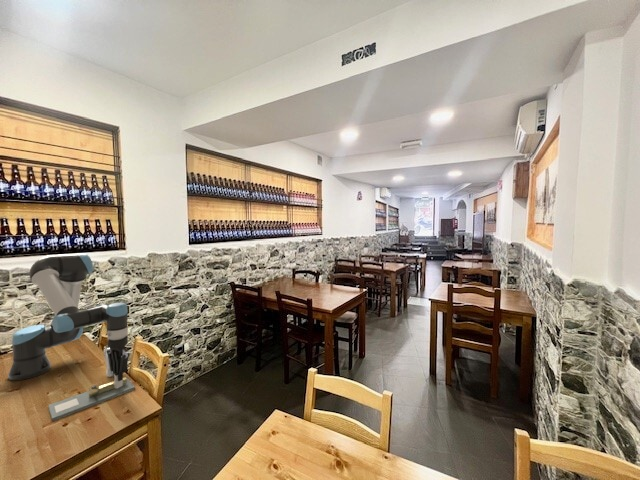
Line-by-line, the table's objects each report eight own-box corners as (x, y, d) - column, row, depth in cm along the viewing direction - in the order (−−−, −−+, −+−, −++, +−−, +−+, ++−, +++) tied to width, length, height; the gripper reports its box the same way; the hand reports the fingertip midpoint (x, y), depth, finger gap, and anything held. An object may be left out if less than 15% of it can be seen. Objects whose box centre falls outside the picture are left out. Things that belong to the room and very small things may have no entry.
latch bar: (88, 394, 121) (87, 386, 120) (124, 381, 131) (124, 374, 131) (89, 398, 118) (89, 390, 118) (127, 384, 129) (127, 377, 129)
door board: (48, 407, 114) (48, 404, 114) (127, 379, 135) (127, 377, 135) (52, 421, 106) (51, 418, 106) (134, 389, 128) (134, 386, 128)
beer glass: (112, 378, 137) (112, 349, 136) (101, 376, 138) (100, 347, 137) (125, 371, 144) (124, 343, 143) (114, 369, 145) (113, 342, 144)
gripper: (99, 337, 123) (100, 387, 124) (118, 342, 118) (119, 394, 120) (117, 331, 130) (118, 379, 131) (135, 336, 125) (136, 385, 126)
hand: (118, 386), depth 125 cm, fingers closed
